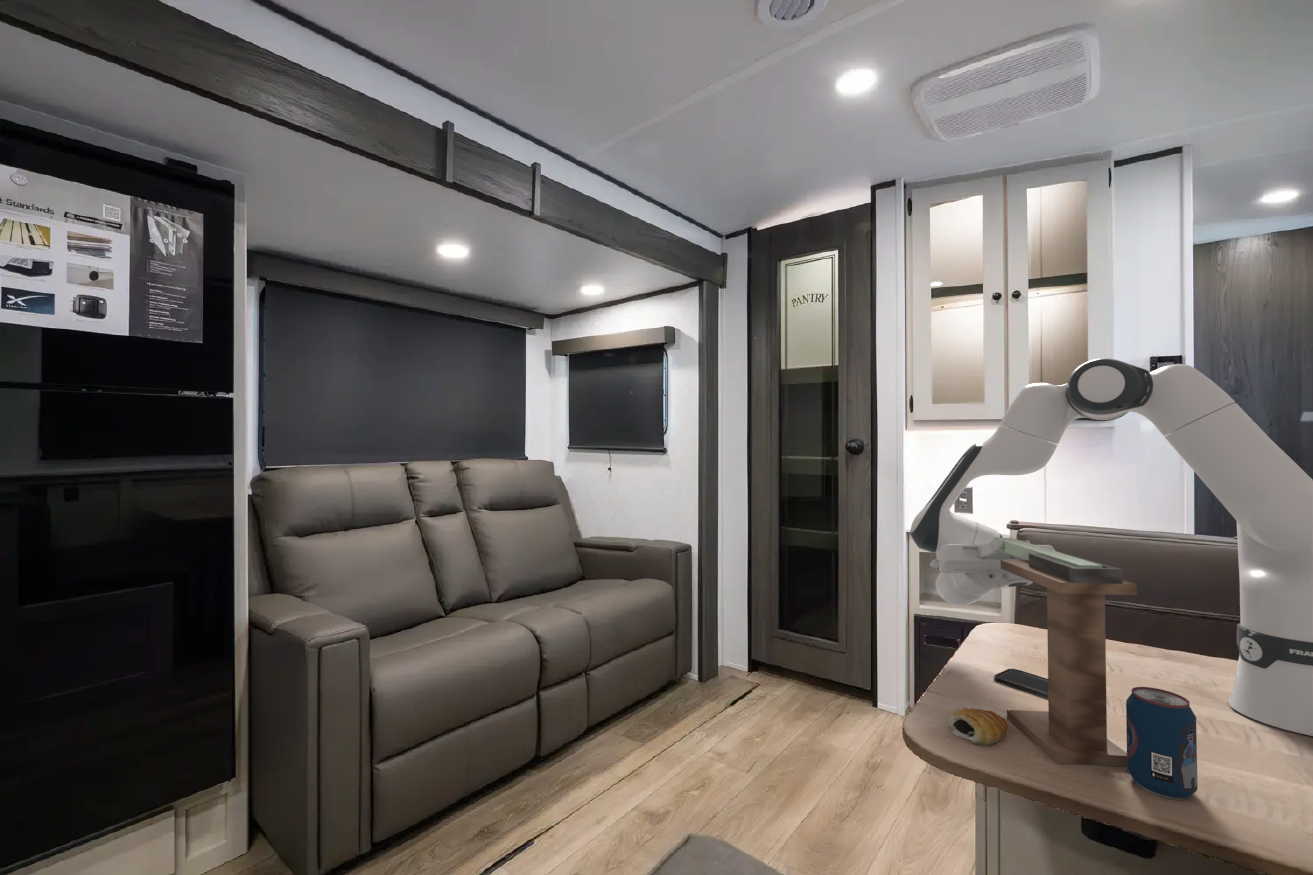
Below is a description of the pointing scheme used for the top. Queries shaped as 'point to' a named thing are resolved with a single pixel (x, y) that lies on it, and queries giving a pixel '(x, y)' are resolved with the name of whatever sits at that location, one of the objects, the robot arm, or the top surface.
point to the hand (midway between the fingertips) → (1013, 544)
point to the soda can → (1161, 743)
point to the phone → (1024, 681)
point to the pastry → (978, 726)
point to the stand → (1073, 661)
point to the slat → (1041, 553)
